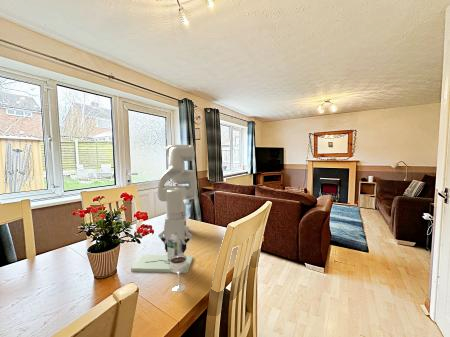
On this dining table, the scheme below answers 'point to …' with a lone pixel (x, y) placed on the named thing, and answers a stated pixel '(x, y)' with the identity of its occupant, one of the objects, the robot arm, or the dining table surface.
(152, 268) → the board
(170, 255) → the syrup box
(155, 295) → the dining table surface
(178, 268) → the wineglass
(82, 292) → the dining table surface
